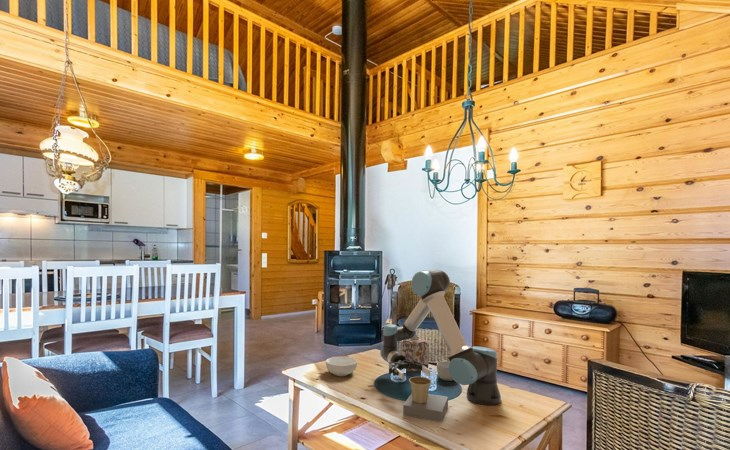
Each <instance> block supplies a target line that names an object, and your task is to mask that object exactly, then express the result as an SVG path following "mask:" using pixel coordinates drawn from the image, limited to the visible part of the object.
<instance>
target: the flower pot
mask: <svg viewBox="0 0 730 450" xmlns="http://www.w3.org/2000/svg"><path fill="white" fill-rule="evenodd" d="M408 380H409V383H410V384H409V385H410V388H411V389H410V390H411V393H412V400H413V401H414V402H415V403H420V404H421V403H426V402H427V398H428V394H429V391H430V386H431V384H432V380H431V379H430V378H428V377H425V376H413V377H410V378H409V379H408Z"/></svg>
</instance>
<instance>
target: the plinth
mask: <svg viewBox="0 0 730 450" xmlns="http://www.w3.org/2000/svg"><path fill="white" fill-rule="evenodd" d="M448 407H449V397H448V396H445V395H439V394H434V393H428V398H427V402H426V403H421V404H420V403H415V402H414V401H413V400H412V392H411V393H410V395H409V396H408V397H407V399H406V400H405V402H404V404H403V406H402V409H403V411H402V412H403V413H402V415H403V416H408V417H414V418H417V419H424V420H429V421H434V422H441V423H442V422H443V419H444V417H445V415H446V412H447V409H448Z"/></svg>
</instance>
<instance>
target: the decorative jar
mask: <svg viewBox="0 0 730 450" xmlns="http://www.w3.org/2000/svg"><path fill="white" fill-rule="evenodd" d="M429 346H430V345H429V343H428V342H427V341H426V339H424V338H422V337H420V336H419V335H418V334H416V336H415V337H413V338H411V339H407V340H402V341H401V343H400V353H401V354H402V355H403V356H405V357H406V359H407V361H411V362H412V360H415V361H417V362H421V363H424V364H428V366H429V357H430V355H429V354H430V353H429V352H430V351H429ZM409 367H410V366H409ZM409 371H412V372H417V371H419V370H417V369H409Z"/></svg>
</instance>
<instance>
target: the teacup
mask: <svg viewBox="0 0 730 450" xmlns="http://www.w3.org/2000/svg"><path fill="white" fill-rule="evenodd" d="M449 363H450V361H449V360H446V359H443V360H441V361H438V362H437V363H436V371H437V375H438V377H439V378H440V379H441V380H442V381H446V382H452V381H454V380H453V378H452V377H451V375H450V373H449Z"/></svg>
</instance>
